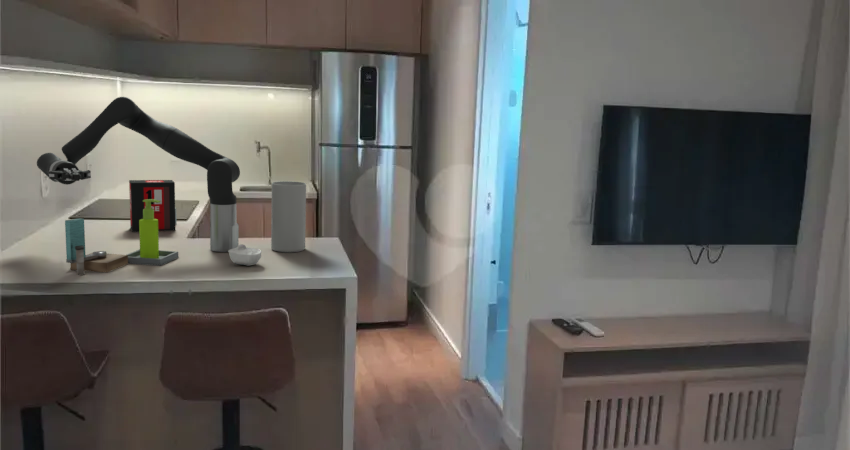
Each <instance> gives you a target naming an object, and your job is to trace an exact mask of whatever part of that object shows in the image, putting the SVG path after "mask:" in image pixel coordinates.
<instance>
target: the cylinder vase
mask: <svg viewBox="0 0 850 450" xmlns="http://www.w3.org/2000/svg"><path fill="white" fill-rule="evenodd" d="M306 212H307V183H306V182H302V181H288V180H287V181H285V180H284V181H272V182H271V225H270V226H271V227H270V228H271V232H270V233H271V234H270V235H271V237H270V238H271V239H270V241H271V242H270V243H271V244H270V246H271V250H273V251H275V252H279V253H298V252H299V253H300V252H303V251H304V250H305V248H306V227H307V226H306V220H307V219H306Z"/></svg>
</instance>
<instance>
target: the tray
mask: <svg viewBox="0 0 850 450" xmlns="http://www.w3.org/2000/svg"><path fill="white" fill-rule="evenodd" d="M125 255H128V264H129V265H130V264H131V265H132V264H133V265H143V266H144V265H146V266H159V267H160V266H163V265H165V264H168V263H169V262H172V261H174V260H176V259H178V258H179V251H178V250H177V251H176V250H175V251H173V250H162V249H161V250H160V249H159V258H158V259H155V258H142V257H140V248H139V249H137V250H135V251H132V252H129V253H126V254H125Z"/></svg>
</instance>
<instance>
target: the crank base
mask: <svg viewBox="0 0 850 450" xmlns="http://www.w3.org/2000/svg"><path fill="white" fill-rule="evenodd" d="M75 249H76V263H69V264H70V270H71V271H76V275H77V276H85V272H97V273H110V272H112V271H114V270H116V269H119V268H122V267H124V266H127V265H129V263H128V255H126V254H120V253H119V254H118V253H107V257H104V258H95V259H90V260H85V261H84V252H83V249H84V246H75ZM89 254H93V252H91V253H87V254H86V255H89Z"/></svg>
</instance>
